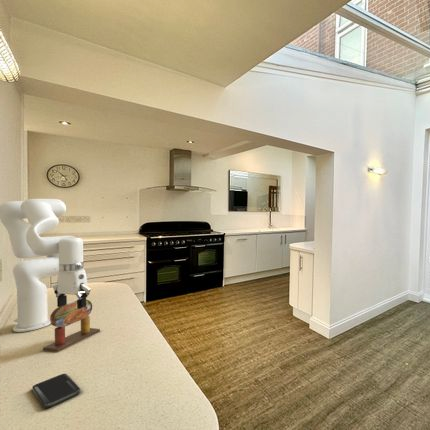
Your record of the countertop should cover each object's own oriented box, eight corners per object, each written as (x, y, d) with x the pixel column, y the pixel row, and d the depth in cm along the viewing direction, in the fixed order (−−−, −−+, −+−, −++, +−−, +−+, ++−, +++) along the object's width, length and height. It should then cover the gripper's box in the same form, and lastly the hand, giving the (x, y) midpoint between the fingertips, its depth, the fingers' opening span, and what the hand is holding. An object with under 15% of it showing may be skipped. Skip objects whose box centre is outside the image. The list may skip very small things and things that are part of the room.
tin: (55, 330, 104) (54, 310, 104) (48, 330, 105) (47, 309, 104) (93, 315, 119) (92, 296, 119) (87, 314, 120) (86, 296, 119)
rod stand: (42, 350, 104) (42, 331, 104) (86, 330, 121) (86, 313, 121) (57, 351, 103) (57, 332, 103) (99, 331, 120) (99, 314, 120)
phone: (45, 406, 74) (31, 385, 82) (45, 409, 74) (31, 389, 82) (81, 389, 81) (65, 372, 89) (81, 393, 81) (65, 375, 89)
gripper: (97, 266, 114) (98, 305, 114) (63, 263, 116) (64, 301, 117) (79, 270, 106) (80, 312, 107) (43, 267, 109) (44, 308, 109)
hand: (71, 306), depth 112 cm, fingers open, 9 cm apart
